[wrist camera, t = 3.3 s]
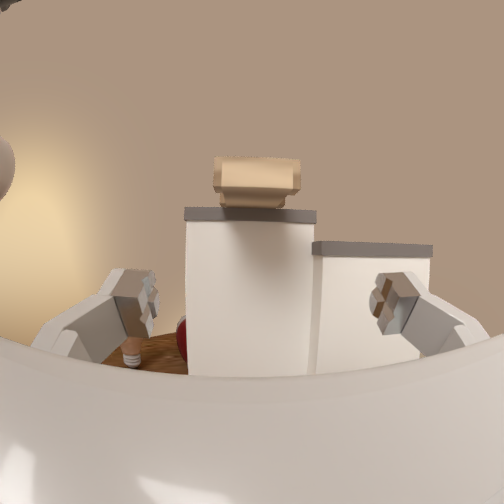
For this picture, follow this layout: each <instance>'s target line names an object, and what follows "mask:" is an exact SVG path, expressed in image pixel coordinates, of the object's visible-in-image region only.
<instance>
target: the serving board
mask: <svg viewBox="0 0 504 504" xmlns="http://www.w3.org/2000/svg"><path fill="white" fill-rule="evenodd" d="M213 187H214V190H215V192H216V193H220V205H221V207H227V208H267V209H276V208H282V207H283V206H284V205H285V197H286V196H287V195H295V194H296V193H297V192H298V191H299V190H300V189H301V175H300V160H296V159H282V158H263V157H262V158H261V157H224V156H218V157H217V156H215V161H214V180H213Z"/></svg>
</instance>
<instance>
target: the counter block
mask: <svg viewBox="0 0 504 504" xmlns="http://www.w3.org/2000/svg"><path fill="white" fill-rule="evenodd" d="M184 220H185V221H187V225H186V270H185V272H186V273H185V274H186V275H185V279H186V281H185V287H186V288H185V290H186V336H187V358H188V375H194V376H213V377H281V376H300V375H313V374H325V373H334V372H343V371H351V370H359V369H366V368H372V367H379V366H385V365H390V364H396V363H401V362H406V361H411V360H415V359H419V356H420V351H419V350H418V349H417V348H415V347H414V346H413V345H412V344H411V343H410V342H409V341H407V340H406V339H405V338H404V337H403V336H402V335H401V334H393V335H382V333H381V331H380V329H379V327H378V325H377V320H378V319H377V318H376V317H374V316H373V315H372V313H371V311H370V307H369V298H370V295H371V292H372V291H373V290H374V289H375V288H376V284H375V280H376V277H377V275H378V274H379V273H394V272H408V271H411V272H413V273H414V274H415V275H416V276H417V277H418V279H419V280H420V281H421V282H422V283H423V285H424V286H425V287H426V288H427V290H428V287H429V270H430V257H432V254H433V250H432V249H433V245H418V244H395V243H394V244H393V243H369V242H341V241H316V242H314V224H315V223H316V211H312V210H293V209H267V208H227V207H185V213H184Z"/></svg>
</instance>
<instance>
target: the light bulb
mask: <svg viewBox="0 0 504 504" xmlns="http://www.w3.org/2000/svg"><path fill="white" fill-rule="evenodd" d="M143 340H144V338H136V337H127V339H126V340H125V341H124V342H123V343H122V344H121V345H120V347H121V350H122V352H123V357H124V363H125V364H126V365H127V366H128V367H130V368H131V369H135V368H136V367H138V366H139V364H140V363H141V357H140V352H141V345H142V342H143Z"/></svg>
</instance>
